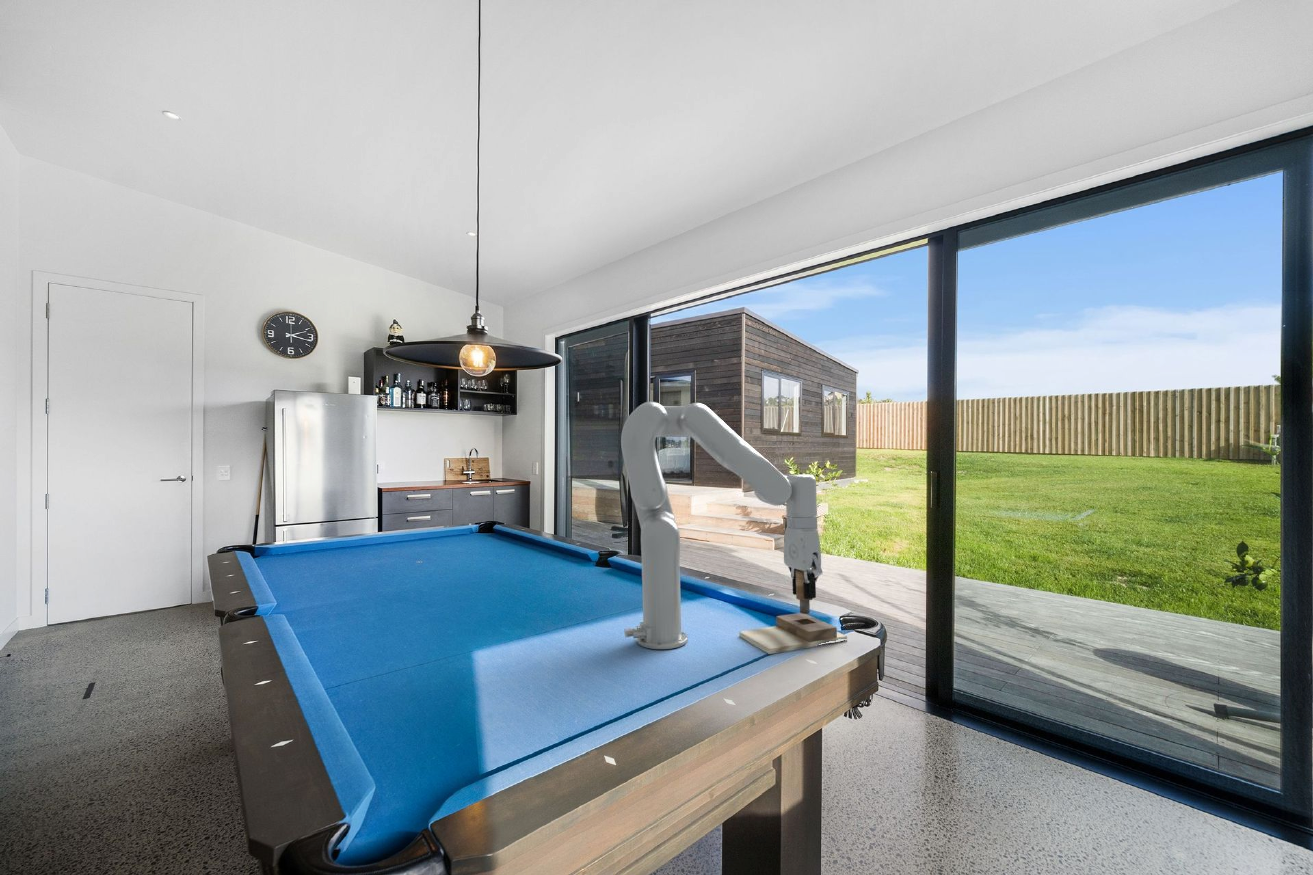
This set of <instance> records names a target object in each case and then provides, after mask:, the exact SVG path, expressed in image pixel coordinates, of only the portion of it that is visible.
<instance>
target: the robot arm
mask: <svg viewBox="0 0 1313 875" xmlns="http://www.w3.org/2000/svg"><path fill="white" fill-rule="evenodd" d="M657 438H692V439H693V440H694V441H695V442H696V443H697V444H698V445H699V446H700V447H701V448H702V449H704V451H706V453H708V454H709V455H710V456H711V457H712V458H713V459H714V460H715V461H716V462H717V463H718V464H720V465H721V466H722V467H723V468H725V469H727V470H729V471H731V472H732V473H734V474H735V475H737V476H738V477H739V478H740V479H742V480H743V481H744V482H746V484H748V486H749V487H750V488H752V489H753V493H754V495H755V497H756V498H757V499H758V500H759V501H760V502H763V503H764V504H768V505H771V506H777V507H778V506H782V505H784V504H786V505H785V506H786V507H785V509H786V510H785V511H786V528H785V530H784V532H785V533H784V539H783V563H784V564H785V566H787V568H788V570H789V572H790V578H791V580H792V584H791V586H792V595H795V596H796V570H797V569H798V570H801V571H804V577H805V582H804V583H803V586H804V598H805V599H811V598H813V599H816V598H817V590H816V586H817V585H816V583H817V581H818V578H819V577H820V576H821V575H822V574H823V569H822V552H821V551H822V550H821V541H820V535H819V531H818V530H819V529H818V502H817V480H816V477H815V476H814V475H812V474H808V473H807V474H804V473H802V474H801V473H799V474H789V475H785V474H783V473H782V472H781V471H779V469H778V468H777V467H775V466H774V465H773V464H772V463H771V461H769V460H768V459H766V458H765V457H764V456H763V455H762V454H761V453H759V452H758V451H757V450H756V449H755V448H753V446H752V445H750V444H749V443H748V442H746V441H745V440H744V439H743V438H742V437H741V436H740V435H738V434H737V433H736V431H735V430H734V429H732V428H731V427H730V426H729V425H727V423H726V422H724V420H723V419H721V418H720V417H719V416H718V415H717V414H716V413H715V412H714V411H713V410H712V409H710V407H708V406H707V405H706V404H703V403H700V402H692V403H690V404H687V405H684V406H683V405H682V406H681V405H679V406H676V405H675V406H674V405H672V406H671V405H666V406H665V405H662V404H660V403H659V402H657V401H646V402H643V403H642V404H640V405H639V406H637V407H636V408H635V409H634V410H633V411H632V412H631V413H630V414H629V416H628V417H627V419H626V420H625V422H624V423H623V427H622V431H621V436H620V445H621V453H622V457H623V462H624V467H625V470H626V475H627V479H628V482H629V488H630V496H631V500H632V501H633V503H634V507H635V511H636V515H637V519H638V522H639V527H640V551H641V552H640V553H641V580H642V582H641V583H642V622H639V625H637V626H636V628H635V627H633V628H632V627H631V628H625V629H624V636H625V638H629V637H632V638H633V639H637V641H636V642H637V643H638V645H639V646H641V647H643V648H646V649H650V650H671V649H675V648H680V647H682V646H684V645H686V644H687V642H688V640H689V639H688V638H689V637H688V634H686V633H685V632H683V631H682V615H681V614H682V609H681V608H682V605H681V604H682V603H681V598H682V597H681V576H680V575H681V569H680V568H681V567H680V566H681V565H680V557H681V556H680V548H681V547H680V546H681V544H680V543H681V536H680V529H679V526H678V524H677V522H676V521H677V520H676V519H675V515H674V512H673V507H672V504H671V501H670V500H671V499H670V496H669V493H668V487H667V483H666V481H665V479H664V476H663V473H662V470H661V466H660V462H659V457H658V453H657V449H656V439H657ZM808 572H811V574H810V575H809V573H808Z"/></svg>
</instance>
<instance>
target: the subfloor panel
mask: <svg viewBox="0 0 1313 875" xmlns="http://www.w3.org/2000/svg"><path fill="white" fill-rule="evenodd" d="M775 622H776V623H775V624H776V625H774V626H767V627H760V628H754V629H746V630H740V631H739V635H738V636H739V637H740V638H742V639H743V640H745V641H747V642H748V643H750V644H751V645H753V646H755V647H757V648H758V649H760V650H761V651H763V652H765V653H767V654H768V655H772V654H773V655H774V654H779V653H784V652H785V653H786V652H791V651H796V650H802V649H807V648H809V649H810V648H815V647H817V646H816V645H819V644H821V643H826V642H829V641H836V640H838V639H847V640H848V636H847V635H845V634H844V633H841V632H839V631H838V628H837V626H835V625H832V624H829V623H828V622H825V621H823V620H820V619H818V618H815V617H813V616H811V615H810V614H809V615H808V614H802V613H800V612H798V613H797V612H796V613H791V614H782V615H776V620H775ZM814 646H815V647H814Z"/></svg>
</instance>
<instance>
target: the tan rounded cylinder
mask: <svg viewBox="0 0 1313 875" xmlns="http://www.w3.org/2000/svg"><path fill="white" fill-rule="evenodd" d="M808 573H809V575H810V574H811V572H808ZM804 582H805V577H804V571H801V570H798V569H797V570H796V595H795V596H796V597H795V598H796V600H798V601H799V613H802V614H807V615H808V614H809V615H810V614H811V609H810V607H811V604H810V601H812V600H813V599H814V598H811V599H805V598H804V586H803V583H804Z"/></svg>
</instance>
